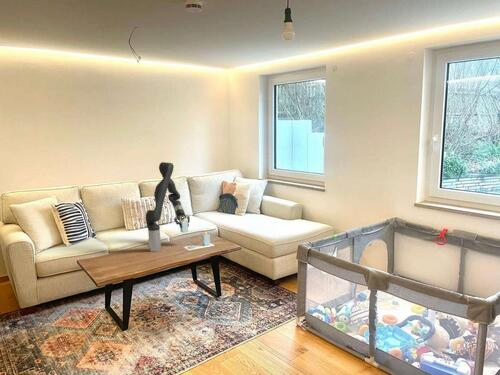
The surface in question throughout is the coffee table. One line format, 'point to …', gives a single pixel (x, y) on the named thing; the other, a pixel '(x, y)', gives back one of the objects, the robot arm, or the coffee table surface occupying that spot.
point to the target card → (197, 246)
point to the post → (206, 239)
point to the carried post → (184, 226)
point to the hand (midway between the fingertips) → (184, 227)
